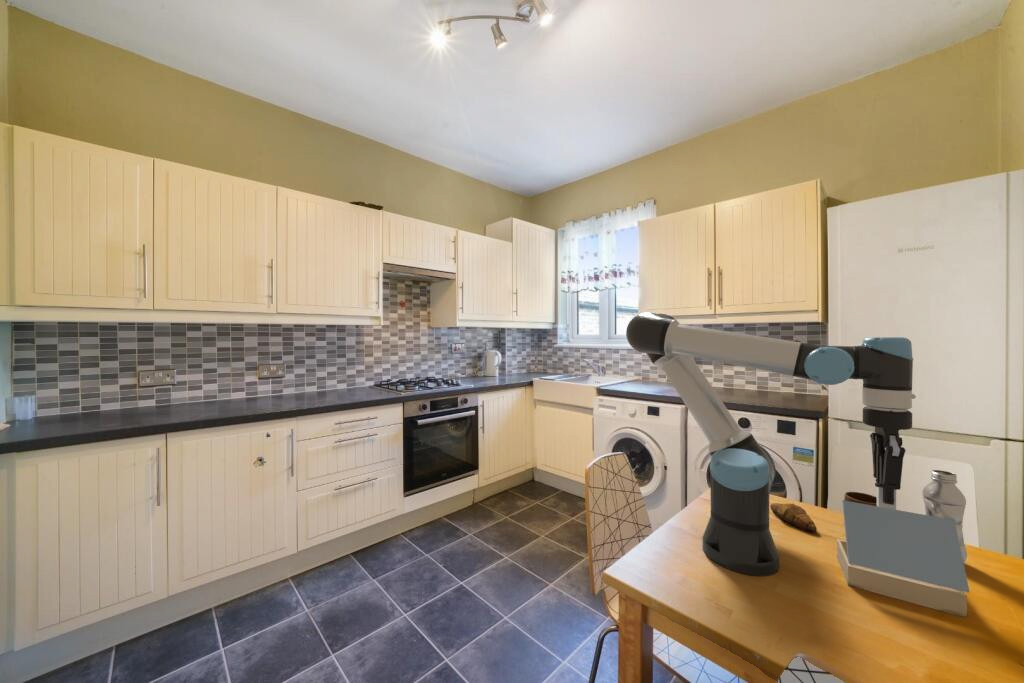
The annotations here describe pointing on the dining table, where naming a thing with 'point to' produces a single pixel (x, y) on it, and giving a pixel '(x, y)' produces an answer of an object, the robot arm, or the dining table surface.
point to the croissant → (794, 516)
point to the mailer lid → (904, 544)
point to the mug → (860, 498)
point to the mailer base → (901, 586)
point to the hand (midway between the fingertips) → (886, 516)
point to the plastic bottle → (946, 502)
